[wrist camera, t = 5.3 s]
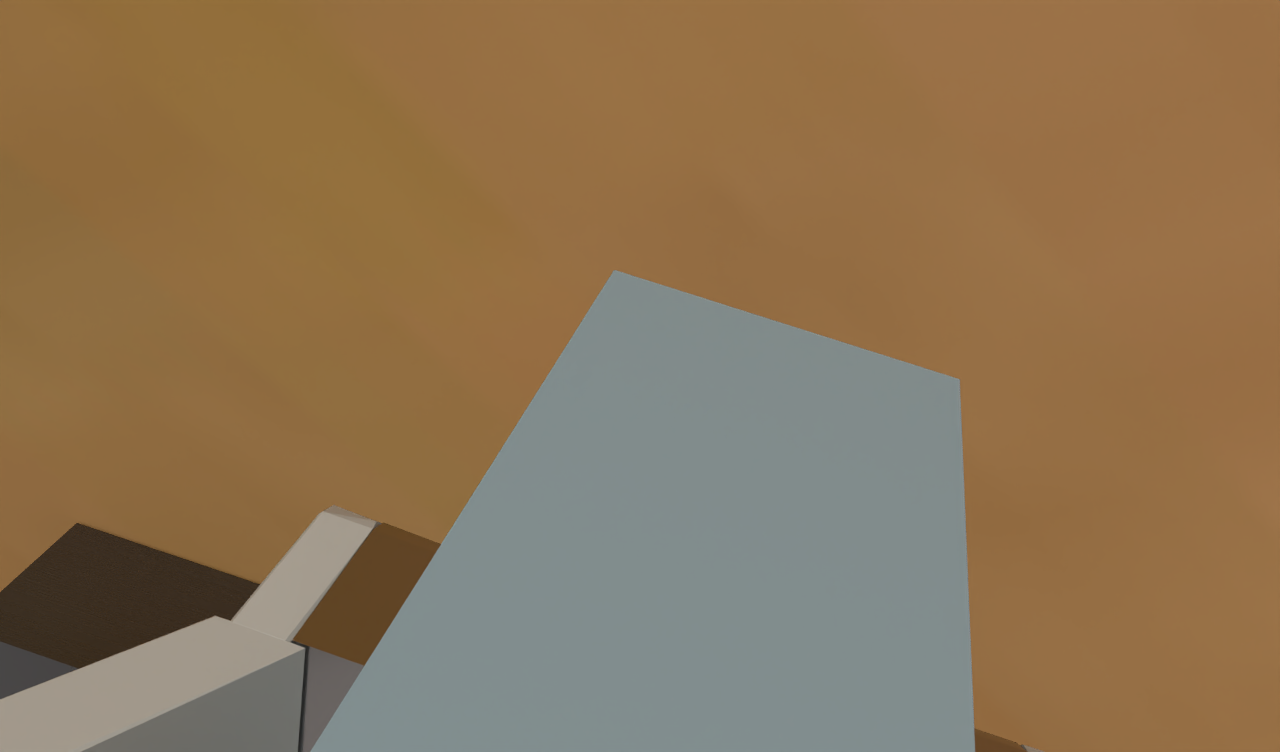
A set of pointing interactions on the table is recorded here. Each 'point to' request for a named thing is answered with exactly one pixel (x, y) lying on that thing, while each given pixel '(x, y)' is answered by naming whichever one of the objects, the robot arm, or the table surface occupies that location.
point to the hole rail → (102, 604)
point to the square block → (694, 556)
